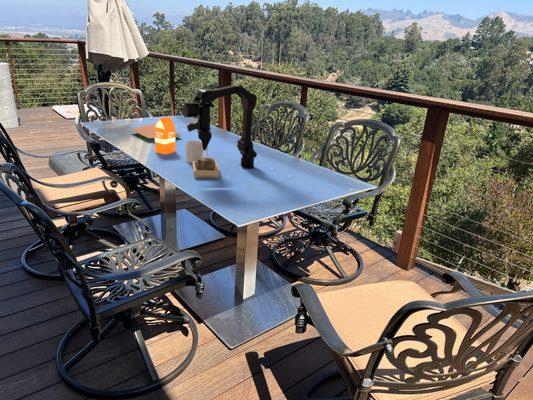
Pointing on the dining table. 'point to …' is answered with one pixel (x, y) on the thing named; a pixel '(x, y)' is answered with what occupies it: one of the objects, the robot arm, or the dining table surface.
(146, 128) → the brown green flat box
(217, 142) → the dining table surface
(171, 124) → the orange juice
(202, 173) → the carton
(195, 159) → the mug
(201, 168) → the walnut box
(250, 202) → the dining table surface
